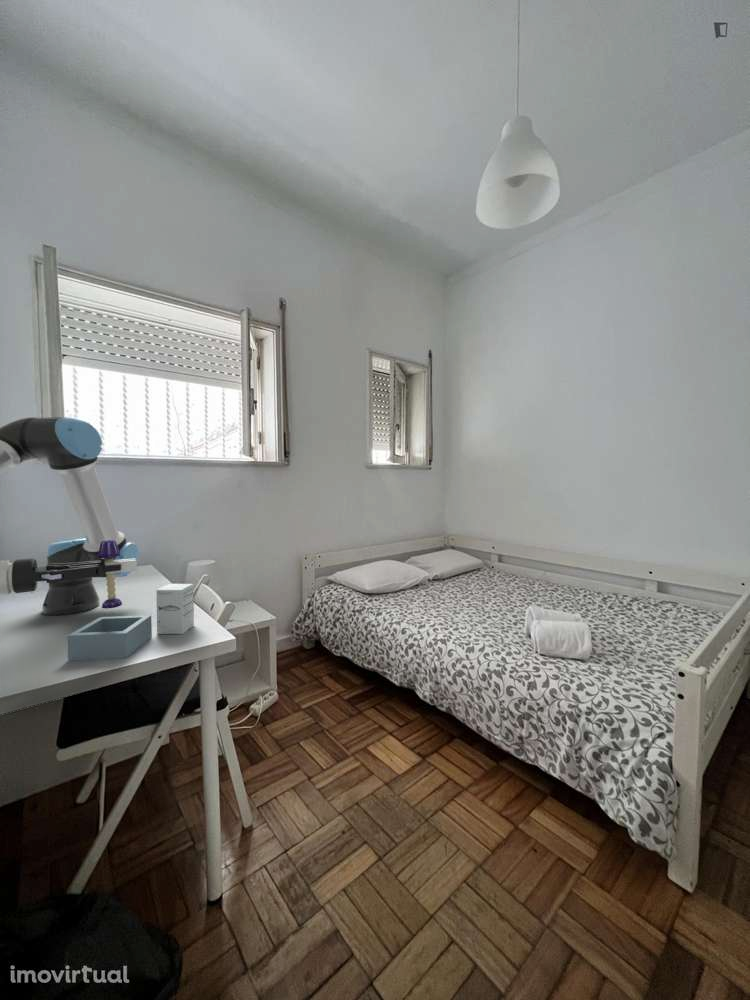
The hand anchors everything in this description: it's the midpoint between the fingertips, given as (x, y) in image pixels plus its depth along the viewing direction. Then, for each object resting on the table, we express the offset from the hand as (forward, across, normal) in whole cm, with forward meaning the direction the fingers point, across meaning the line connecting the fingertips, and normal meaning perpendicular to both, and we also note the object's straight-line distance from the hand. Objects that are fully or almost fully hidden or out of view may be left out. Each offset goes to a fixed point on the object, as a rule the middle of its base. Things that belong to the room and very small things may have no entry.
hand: (135, 564), depth 101 cm
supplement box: (+10, -5, -21) cm, 24 cm away
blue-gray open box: (-5, 0, -21) cm, 21 cm away
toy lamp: (-6, 0, -10) cm, 12 cm away
